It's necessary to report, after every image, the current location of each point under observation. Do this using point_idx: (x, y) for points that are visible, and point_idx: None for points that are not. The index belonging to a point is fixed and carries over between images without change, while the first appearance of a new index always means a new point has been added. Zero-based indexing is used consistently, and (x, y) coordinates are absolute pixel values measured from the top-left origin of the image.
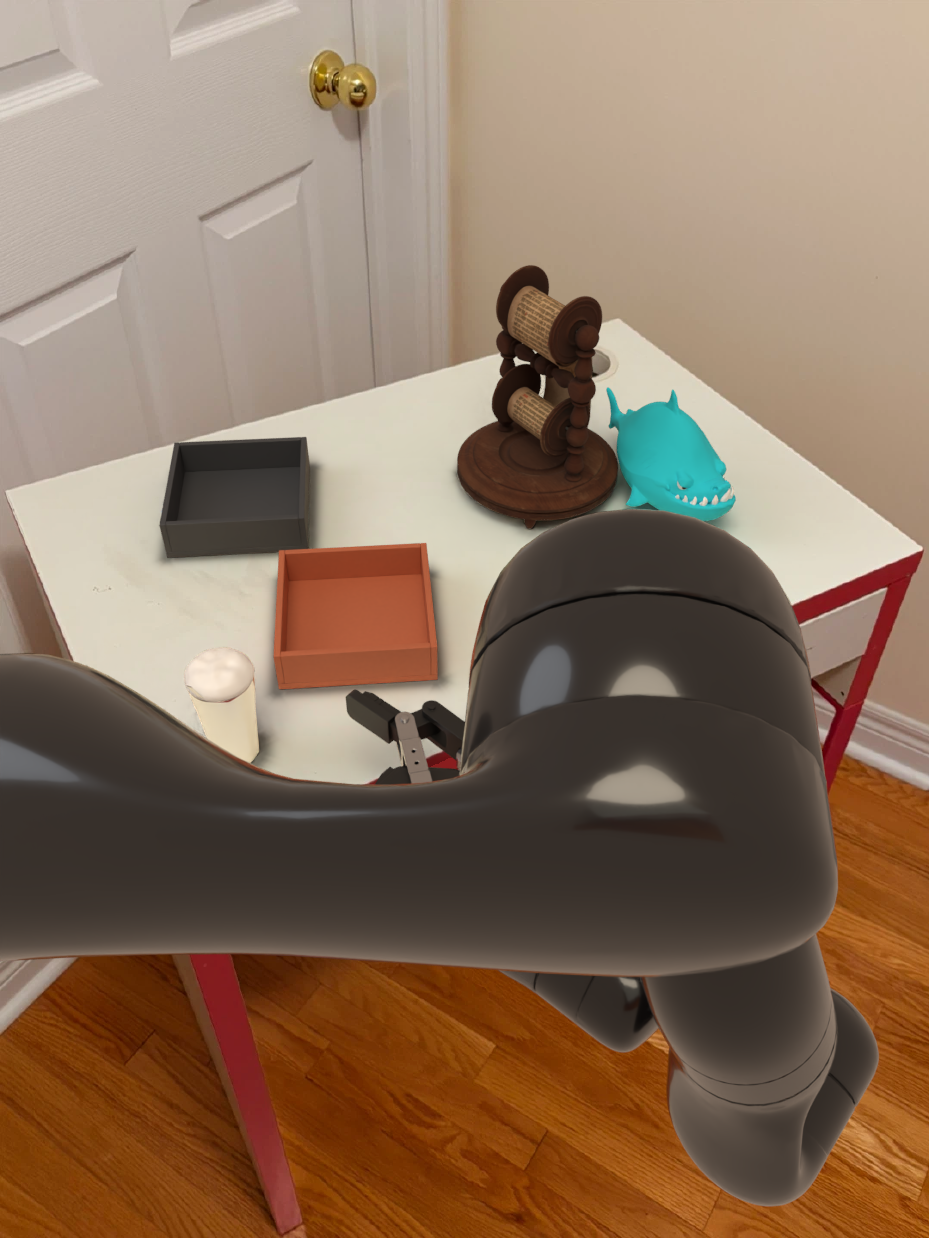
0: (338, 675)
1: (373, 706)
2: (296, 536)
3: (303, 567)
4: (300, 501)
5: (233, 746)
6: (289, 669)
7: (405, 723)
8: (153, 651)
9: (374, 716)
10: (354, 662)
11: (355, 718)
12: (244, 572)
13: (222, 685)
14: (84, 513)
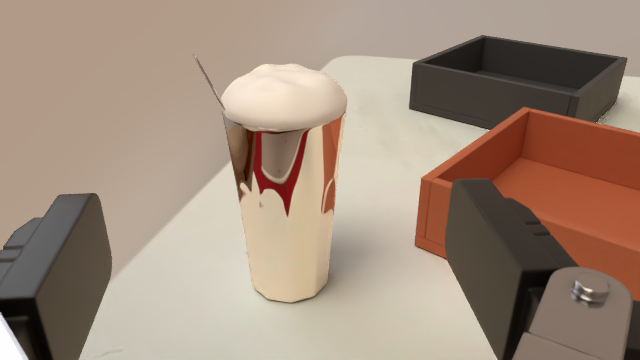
0: None
1: (505, 221)
2: None
3: (547, 141)
4: (584, 86)
5: (261, 247)
6: (437, 213)
7: (585, 303)
8: None
9: (492, 249)
10: None
11: (453, 261)
12: (475, 140)
13: (258, 96)
14: (373, 70)
